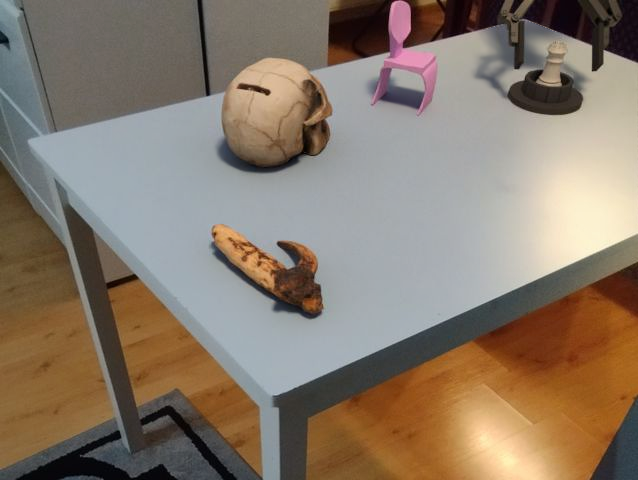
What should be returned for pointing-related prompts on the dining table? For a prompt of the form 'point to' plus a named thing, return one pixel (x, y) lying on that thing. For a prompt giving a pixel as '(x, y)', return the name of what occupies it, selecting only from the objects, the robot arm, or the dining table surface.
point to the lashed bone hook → (274, 268)
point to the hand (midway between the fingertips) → (558, 66)
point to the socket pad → (544, 106)
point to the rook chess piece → (553, 64)
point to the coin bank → (275, 113)
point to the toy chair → (406, 55)
